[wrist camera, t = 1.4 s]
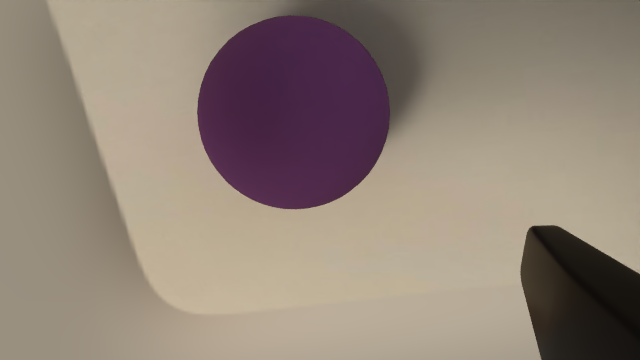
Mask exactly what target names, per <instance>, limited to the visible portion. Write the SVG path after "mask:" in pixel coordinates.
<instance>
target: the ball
mask: <svg viewBox="0 0 640 360" xmlns="http://www.w3.org/2000/svg"><path fill="white" fill-rule="evenodd" d="M197 114H198V126H199V131H200V135H201V140H202V143H203V145H204V148H205V151H206V153H207V155H208V157H209V159H210V161H211V162H212V164H213V165H214V167H215V168H216V170H217V171H218V172H219V173H220V174H221V176H222V177H223V178H224V179H225V180H226V181H227V182H228V183H229V184H230V185H231V186H232V187H233V188H235V189H236V190H237V191H239V192H240V193H242V194H243V195H245V196H247V197H248V198H250V199H252V200H254V201H257V202H259V203H262V204H265V205H268V206H272V207H276V208H283V209H305V208H311V207H316V206H320V205H323V204H327V203H330V202H332V201H334V200H336V199H338V198H340V197H342V196H343V195H345V194H347V193H348V192H349V191H351V190H352V189H353V188H354V187H356V186H357V185H358V184H359V183H360V182H361V181H362V180H363V179H364V178H365V177H366V176H367V175H368V174H369V172H370V171H371V170H372V168H373V167H374V165H375V164H376V162H377V160H378V158H379V156H380V154H381V152H382V150H383V147H384V144H385V142H386V138H387V133H388V129H389V117H390V108H389V97H388V92H387V88H386V85H385V82H384V79H383V76H382V74H381V72H380V70H379V68H378V66H377V64H376V62H375V61H374V59H373V58H372V56H371V55H370V53H369V52H368V51H367V50H366V49H365V48H364V46H363V45H362V44H361V43H360V42H359V41H358V40H356V39H355V38H354V37H353V36H352V35H350V34H349V33H347V32H346V31H344V30H343V29H341V28H340V27H337V26H335V25H333V24H331V23H329V22H326V21H323V20H320V19H317V18H312V17H306V16H280V17H274V18H270V19H266V20H263V21H261V22H258V23H256V24H253V25H251V26H249V27H247V28H245V29H244V30H242V31H240V32H239V33H237V34H236V35H235V36H234V37H232V38H231V39H230V40H229V41H228V42H227V43H226V44H225V45H224V46H223V47H222V48H221V49H220V50H219V52H218V53H217V54H216V56H215V57H214V59H213V60H212V61H211V63H210V65H209V67H208V69H207V71H206V73H205V76H204V78H203V81H202V84H201V88H200V93H199V98H198V110H197Z"/></svg>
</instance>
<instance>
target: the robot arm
mask: <svg viewBox="0 0 640 360" xmlns="http://www.w3.org/2000/svg"><path fill="white" fill-rule="evenodd" d="M521 282H522V286H523V290H524V294H525V297H526V302H527V306H528V309H529V313H530V317H531V321H532V325H533V329H534V333H535V336H536V340H537V344H538V348H539V352H540V355H541V359H542V360H640V274H639V273H637V272H635V271H634V270H632V269H630V268H628V267H627V266H625V265H623V264H622V263H620V262H618V261H617V260H615V259H613V258H611V257H610V256H608V255H606V254H605V253H603V252H601V251H600V250H598V249H596V248H594V247H593V246H591V245H589V244H588V243H586V242H584V241H583V240H581V239H579V238H577V237H576V236H574V235H572V234H571V233H569V232H567V231H566V230H564V229H562V228H560V227H558V226H554V225H549V226H532V227H531V228H529V230H528V232H527V235H526V241H525V246H524V252H523V257H522V263H521Z"/></svg>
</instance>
